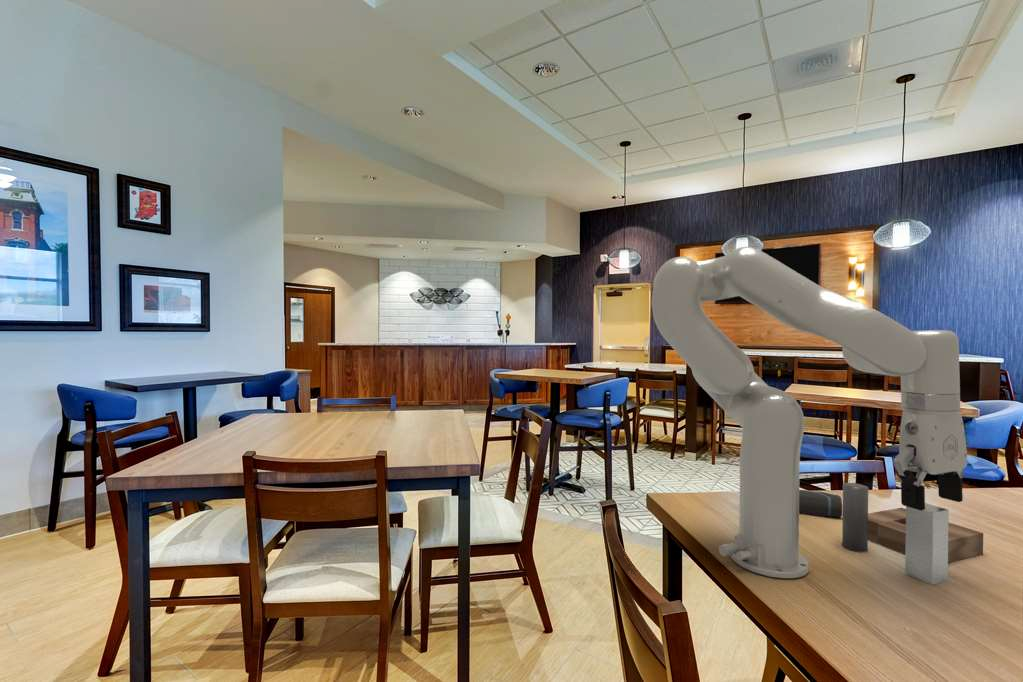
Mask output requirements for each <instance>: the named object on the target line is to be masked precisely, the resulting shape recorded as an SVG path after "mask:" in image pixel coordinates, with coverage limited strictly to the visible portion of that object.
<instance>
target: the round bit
mask: <svg viewBox="0 0 1023 682" xmlns="http://www.w3.org/2000/svg"><path fill="white" fill-rule="evenodd" d="M868 513H869V487H868V485H867V486H866V485H863V484H861V483H855V482H844V483H842V525H841V526H842V527H841V528H842V532H841V533H842V536H841V537H842V540H841V542H842V543H841V544H842V547H843V548H845V549H846V550H850V551H853V552H857V553H867V552H868V549H869V548H868V546H869V545H868V544H869V540H868Z"/></svg>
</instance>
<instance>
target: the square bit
mask: <svg viewBox="0 0 1023 682" xmlns="http://www.w3.org/2000/svg"><path fill="white" fill-rule="evenodd" d="M905 509H906V552H905V554H904V555H905V565H904V567H905V569H904V570H905V571H904V574H906V575H908V576H910V577H912V578H915V579H916V580H920V581H922V582H924V583H926V584H929V585H931V586H933V585H937V584H941V583H945V582H948V579H949V577H948V574H949V573H948V571H949V563H948V522H949V512H950V511H949V509H947V508H943V507H942V506H941V507H940V506H937V505H933V504H929V503H926V502H925V510H917V509H914V508H910V507H907V506H905Z"/></svg>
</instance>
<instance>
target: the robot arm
mask: <svg viewBox="0 0 1023 682" xmlns="http://www.w3.org/2000/svg"><path fill="white" fill-rule="evenodd" d="M652 288H653V289H652V293H651V294H652V296H651V307H652V308H651V309H652V315H653V320H654V323H655V325H656V327H657V330H658V331H659V333H660V334H661V336H662V337H663V339H664V340H665V341H666V342H667V344H669V346H670V347H671V349H673V350H674V352H676V354H678V356H679V357H680V358H681V359H682V360H683V361H684V362H685V364H686V365H688V367H689V368H690V369H691V372H692V376H693V378H694V379H695V381H696V382H697V384H698V385H699V387H701V388H702V389H703V390H704V391H705V392H706V393H707V394H708V395H709V397H711V399H713V401H715V403H716V404H717V405H718V406H719V407H720V408H721V409H722V410H723V411H724V412H725V413H726V414H727V415H728V416H729V417H730V418H731V419H732V420H733V421H734V422H735V423H736V424H737V425H739V426H740V427H741V428H742V435H741V442H740V443H741V444H740V449H739V451H740V452H739V520H738V521H739V527H738V528H739V530H738V531H739V532H738V533H736V534H734V540H733V541H732V542H731V543H724V544H720V545H719V546H718V552H719V554H720V555H721V556H722V557H730V558H731V559H732V560H733V562H734V563H735V564H737V565H739V567H742V568H743V569H745V570H747V571H750V572H751V573H752V572H753V573H756V574H758V575H762V576H766V577H771V578H775V579H776V578H777V579H778V578H779V579H796V578H797V579H798V578H802V577H805V576H806V575H807V574H808V573H809V570H810V564H809V563H810V562H809V561H808V559H806V557H805V556H803V554H801V553H800V550H799V549H800V546H799V545H800V512H799V490H800V461H801V460H800V459H801V450H802V449H801V448H802V443H803V442H802V441H803V438H804V432H805V416H804V412H803V409H802V407H801V405H800V403H798V400H796V399H795V398H794V397H793V396H792V395H791V394H790V393H788V392H786V391H784V390H782V389H779V388H777V387H774V386H773V387H772V386H770V385H768V384H767V383H766V382H765V381H764V380H763V379H762V378H761V377H760V376H759V375H758V374H757V373H756V372H755V370H754V365H753V363H752V361H751V358H750V357H748V355H747V354H746V353H745V352H744V351H743V350H742V349H741V348H739V347H738V346H737V345H736V344H735V343H734V342H733V341H732V340H731V339H730V338H729V337H728V336H727V335H726V334H725V333H724V332H723V331H722V330H721V329H720V328H719V327H718V326H717V325H716V324H715V323H714V321H713V320H711V319H710V317H709V316H708V315H707V314H706V312H705V311H704V309H703V306H702V303H706V302H713V301H714V302H715V301H720V300H725V299H732V298H735V297H740V298H742V299H743V300H745V301H747V302H748V303H750V304H752V305H753V306H756V307H757V308H759V310H762V311H763V312H764V313H766V314H768V315H770V316H771V317H773V318H774V319H776V320H777V321H779V322H780V323H782V324H784V325H785V326H788V327H790V328H791V329H794V330H796V331H799V332H803V333H806V334H807V333H808V334H811V335H814V336H817V337H820V338H821V337H822V338H823V339H826V340H828V341H830V342H833V343H835V344H837V345H840V346H841V347H842V357H843V359H844V360H845V362H846V363H847V364H848V365H849V366H850V367H852V368H853V369H855V370H857V371H859V372H863V373H869V374H874V375H875V374H876V375H884V376H891V377H900V391H901V392H900V399H901V402H900V404H901V405H900V406H901V411H902V414H901V420H900V429H899V431H900V432H899V453H898V454H897V455H896V456H894V458H893V459H892V463H893V466H894V468H895V473H896V475H897V477H898V482H899V483H900V493H901V494H900V495H901V496H900V500H901V505H902V506H904V507H906V506H907V507H910V508H914V509H917V510H925V503H926V496H925V495H926V491H925V487H926V486H925V485H922V483H923V481H924V479H925V478H926V476H927V474H929V475H934V476H936V475H937V477H938V478H937V483H938V484H937V487H938V489H937V490H938V497H940V498H941V499H945V500H948V501H952V502H957V503H962V502H963V499H964V498H963V496H964V495H963V478H964V476H965V473H964V471H963V470H964V469H965V468H966V467H967V466H968V450H967V441H966V440H967V439H966V432H965V426H964V421H963V416H962V414H961V413H962V412H961V386H960V385H961V379H960V376H961V375H960V344H959V343H960V341H959V336H958V335H957V334H956V333H955V332H954V331H951V330H945V329H943V330H941V329H928V330H927V329H924V330H922V329H921V330H911V329H909V328H908V327H906V326H905V325H902V324H901V323H899V322H898V321H896V320H895V319H893V318H891V317H889V316H888V315H886V314H884V313H882V312H880V311H878V310H877V309H874V308H872V307H871V306H869V305H866V304H864V303H862V302H859V301H857V300H855V299H853V298H849V297H847V296H844V295H842V294H841V293H838V292H836V291H833V290H830V289H828V288H825V287H823V286H821V285H819V284H817V283H815V282H814V281H812V280H810V279H809V278H807V277H806V276H804V275H802V274H801V273H798V272H797V271H796V270H794V269H792V268H790V267H789V266H787V265H785V264H784V263H782V262H781V261H779V260H778V259H776V258H774V257H772V255H771V256H770V255H769V254H768V253H765V252H764V251H762V250H761V249H758V248H755V247H751V246H744V247H743V246H741V247H738V248H735V249H734V250H731V251H730V252H728V253H726V254H725V255H723V256H719V257H715V258H710V259H705V260H699V261H695V260H694V259H693V258H689V257H686V256H677V257H673V258H671V259H668V260H667V261H665V262H664V263H663V264H662V265H661V266H660V267H659V269H658V271H657V272H656V274H655V276H654V279H653V284H652ZM913 472H914V473H916V475H914V473H913Z"/></svg>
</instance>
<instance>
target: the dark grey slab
mask: <svg viewBox="0 0 1023 682" xmlns="http://www.w3.org/2000/svg"><path fill="white" fill-rule="evenodd" d="M799 513H802V514H806V513H807V515H812V514H813V515H814V516H819V517H831V518H839V517H840V518H841V517H843V499H842V497H841V496H840V495H839V494H833V493H829V492H823V491H822V492H821V491H814V490H805V489H799Z"/></svg>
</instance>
